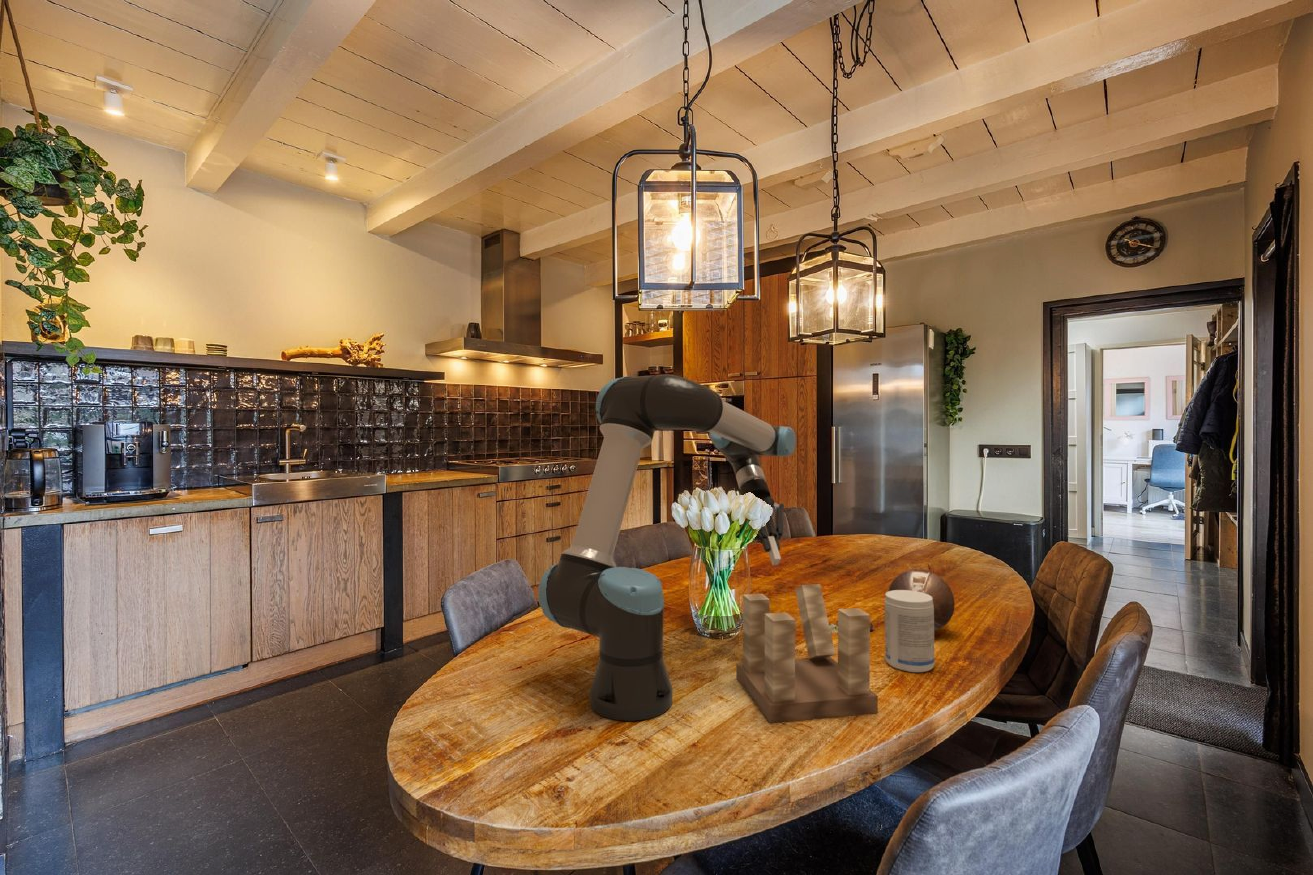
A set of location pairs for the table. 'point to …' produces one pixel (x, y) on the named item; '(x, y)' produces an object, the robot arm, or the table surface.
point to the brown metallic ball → (928, 592)
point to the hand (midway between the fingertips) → (776, 561)
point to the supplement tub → (909, 630)
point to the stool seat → (804, 667)
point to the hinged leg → (814, 621)
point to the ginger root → (835, 627)
